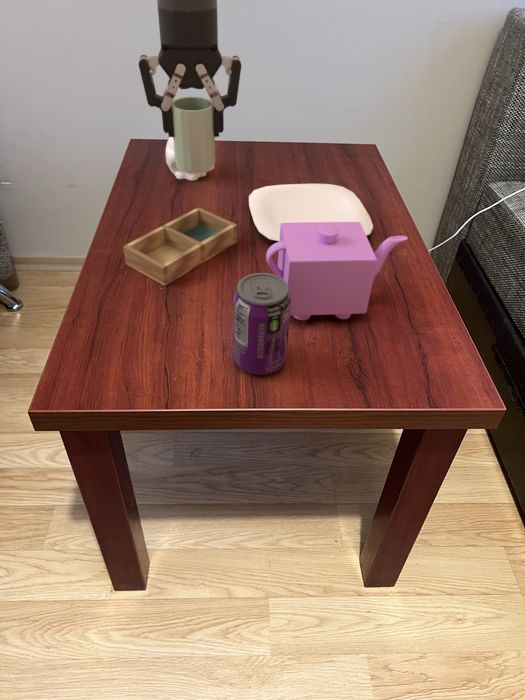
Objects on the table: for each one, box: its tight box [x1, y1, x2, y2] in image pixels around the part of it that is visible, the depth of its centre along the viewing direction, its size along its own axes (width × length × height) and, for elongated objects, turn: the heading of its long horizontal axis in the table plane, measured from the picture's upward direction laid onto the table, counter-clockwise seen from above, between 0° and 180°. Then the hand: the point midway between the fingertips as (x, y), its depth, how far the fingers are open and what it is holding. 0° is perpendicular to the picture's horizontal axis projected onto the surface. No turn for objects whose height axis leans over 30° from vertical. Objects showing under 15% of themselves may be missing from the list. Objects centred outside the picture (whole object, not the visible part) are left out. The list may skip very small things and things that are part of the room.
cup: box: [171, 96, 216, 173], centre depth 80 cm, size 6×6×9 cm
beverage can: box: [232, 272, 291, 375], centre depth 69 cm, size 7×7×12 cm
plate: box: [248, 183, 374, 243], centre depth 101 cm, size 22×22×2 cm
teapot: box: [265, 222, 409, 321], centre depth 79 cm, size 20×10×12 cm, turn 95°
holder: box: [122, 207, 238, 287], centre depth 90 cm, size 17×9×3 cm, turn 142°
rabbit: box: [165, 137, 207, 182], centre depth 109 cm, size 12×9×12 cm
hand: (194, 134), depth 80 cm, fingers closed on cup, 6 cm apart
